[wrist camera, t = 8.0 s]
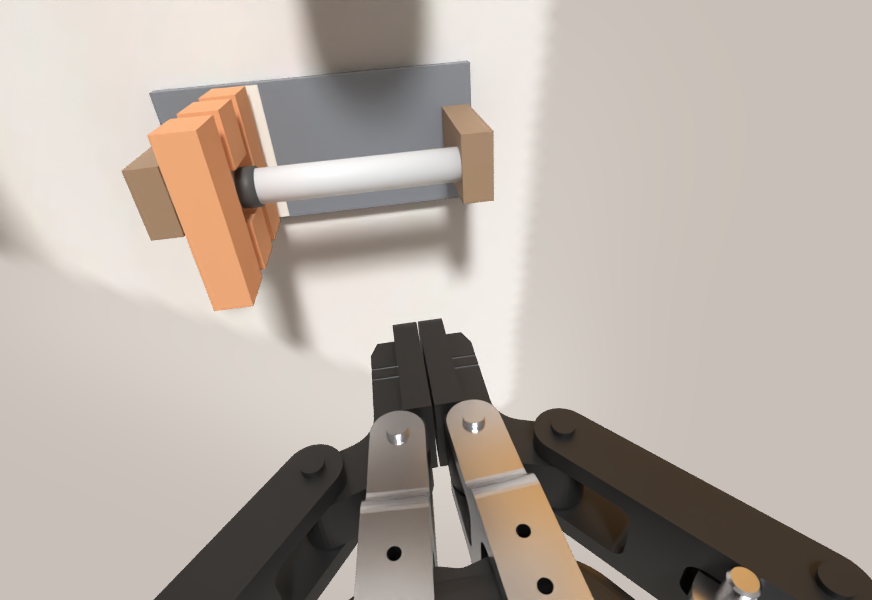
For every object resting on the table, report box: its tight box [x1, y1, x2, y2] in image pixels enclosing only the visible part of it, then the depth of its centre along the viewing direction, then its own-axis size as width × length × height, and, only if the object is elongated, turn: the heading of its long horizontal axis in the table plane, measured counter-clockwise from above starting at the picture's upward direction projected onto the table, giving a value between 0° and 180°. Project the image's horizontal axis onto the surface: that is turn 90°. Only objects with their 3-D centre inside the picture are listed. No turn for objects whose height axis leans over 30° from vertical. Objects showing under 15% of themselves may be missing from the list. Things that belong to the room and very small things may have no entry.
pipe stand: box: [122, 61, 494, 241], centre depth 31 cm, size 20×9×8 cm, turn 94°
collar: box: [147, 86, 281, 311], centre depth 28 cm, size 2×9×11 cm, turn 5°
